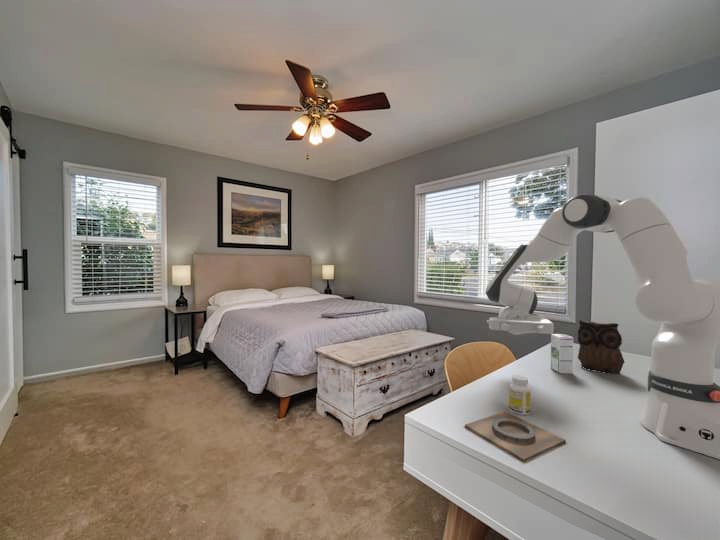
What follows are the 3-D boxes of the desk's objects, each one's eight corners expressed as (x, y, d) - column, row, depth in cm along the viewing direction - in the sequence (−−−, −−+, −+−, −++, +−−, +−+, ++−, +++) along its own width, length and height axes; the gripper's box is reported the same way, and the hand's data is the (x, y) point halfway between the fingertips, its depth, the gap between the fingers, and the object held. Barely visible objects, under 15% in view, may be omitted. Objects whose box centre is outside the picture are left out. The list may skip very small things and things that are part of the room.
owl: (625, 375, 120) (627, 324, 120) (591, 374, 121) (592, 323, 121) (603, 365, 133) (604, 318, 132) (572, 363, 134) (573, 317, 134)
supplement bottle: (525, 407, 91) (526, 374, 91) (533, 416, 86) (534, 381, 86) (506, 406, 92) (506, 373, 92) (513, 415, 86) (514, 380, 86)
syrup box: (573, 373, 121) (574, 337, 121) (558, 373, 121) (559, 336, 121) (564, 368, 127) (565, 333, 127) (549, 368, 127) (550, 333, 127)
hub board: (565, 442, 73) (565, 435, 73) (523, 462, 65) (523, 454, 65) (505, 413, 87) (505, 407, 87) (464, 426, 79) (465, 420, 79)
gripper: (485, 311, 117) (490, 317, 104) (546, 315, 112) (559, 322, 98) (485, 328, 118) (490, 336, 104) (545, 332, 112) (558, 341, 99)
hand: (524, 329), depth 101 cm, fingers open, 8 cm apart
